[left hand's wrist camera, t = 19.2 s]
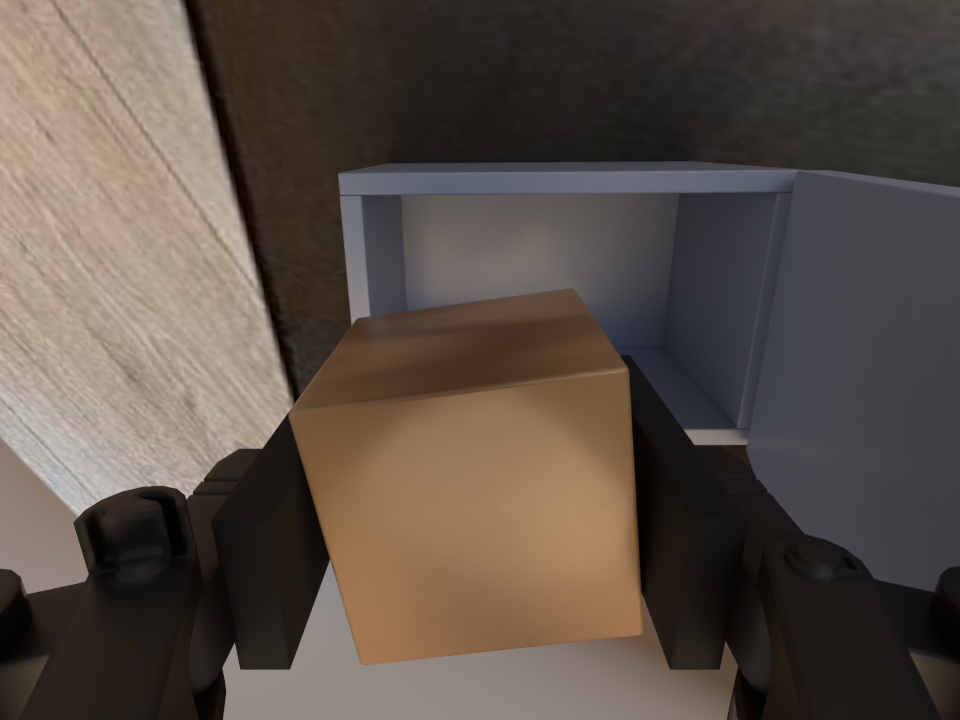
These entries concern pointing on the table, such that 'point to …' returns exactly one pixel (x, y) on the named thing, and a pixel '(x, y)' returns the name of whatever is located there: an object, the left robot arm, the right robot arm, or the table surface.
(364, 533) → the block
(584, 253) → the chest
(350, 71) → the table surface
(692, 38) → the table surface
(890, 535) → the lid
